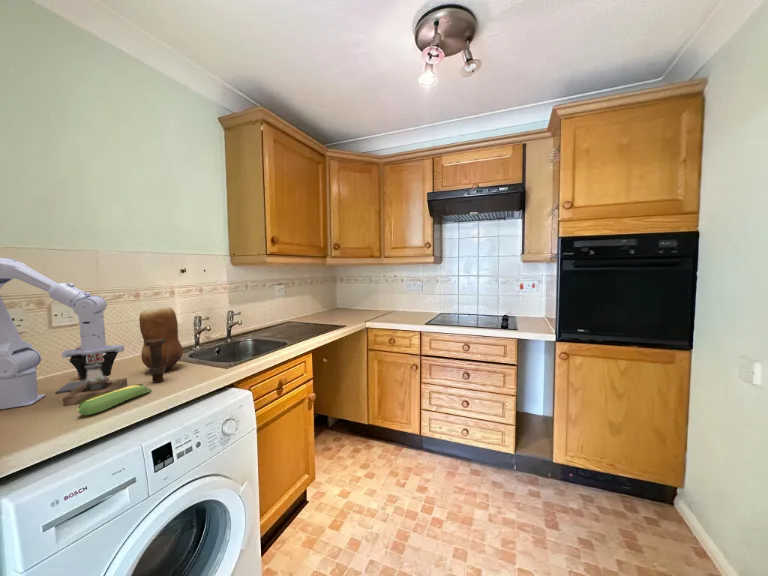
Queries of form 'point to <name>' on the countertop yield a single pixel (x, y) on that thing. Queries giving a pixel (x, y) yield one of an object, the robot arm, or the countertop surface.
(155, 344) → the bolt
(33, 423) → the countertop surface
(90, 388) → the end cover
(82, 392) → the wooden square frame
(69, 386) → the rest mat
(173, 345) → the butternut squash
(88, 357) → the soda can
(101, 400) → the edible corn
